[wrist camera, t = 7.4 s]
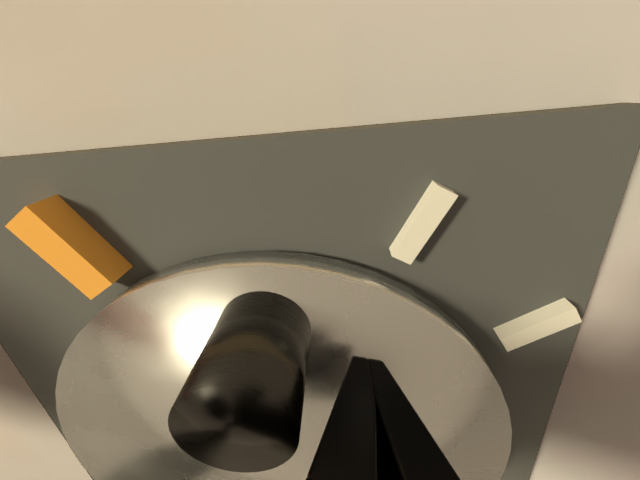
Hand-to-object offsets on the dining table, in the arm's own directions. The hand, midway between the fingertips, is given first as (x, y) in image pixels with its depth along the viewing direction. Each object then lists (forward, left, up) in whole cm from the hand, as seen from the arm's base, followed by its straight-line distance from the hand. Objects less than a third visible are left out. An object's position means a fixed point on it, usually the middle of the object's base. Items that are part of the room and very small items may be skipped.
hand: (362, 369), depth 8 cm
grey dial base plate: (-5, +3, -3) cm, 7 cm away
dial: (-5, +3, -2) cm, 6 cm away
